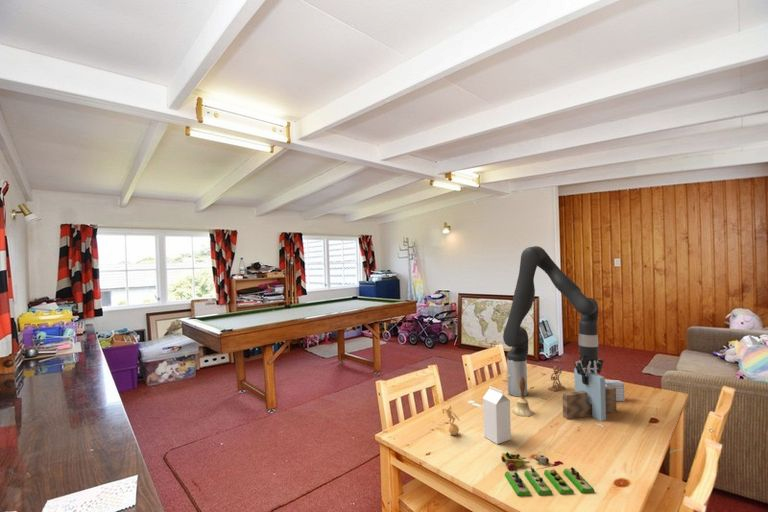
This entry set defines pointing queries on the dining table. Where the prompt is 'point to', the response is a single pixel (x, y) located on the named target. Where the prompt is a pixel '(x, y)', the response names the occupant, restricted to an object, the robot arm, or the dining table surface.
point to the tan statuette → (558, 386)
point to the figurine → (453, 427)
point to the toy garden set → (537, 482)
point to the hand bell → (522, 402)
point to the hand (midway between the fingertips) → (589, 383)
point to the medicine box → (618, 386)
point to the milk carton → (496, 416)
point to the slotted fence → (585, 403)
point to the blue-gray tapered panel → (593, 393)
